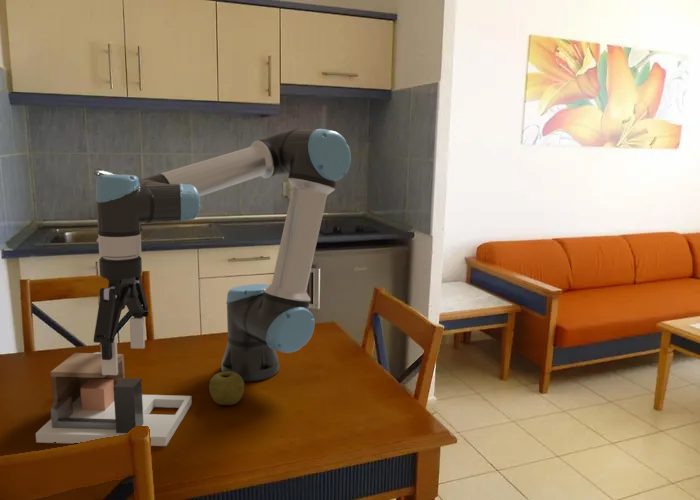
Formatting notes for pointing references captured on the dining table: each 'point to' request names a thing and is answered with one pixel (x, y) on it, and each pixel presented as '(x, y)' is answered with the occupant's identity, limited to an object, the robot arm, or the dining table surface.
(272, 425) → the dining table surface
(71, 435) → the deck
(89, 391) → the cube
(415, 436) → the dining table surface
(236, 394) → the apple
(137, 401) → the grey u-shaped bracket
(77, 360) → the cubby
